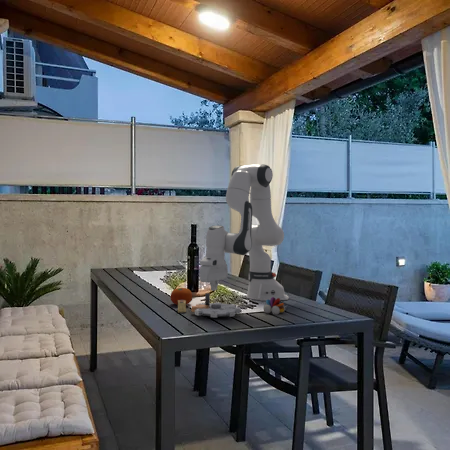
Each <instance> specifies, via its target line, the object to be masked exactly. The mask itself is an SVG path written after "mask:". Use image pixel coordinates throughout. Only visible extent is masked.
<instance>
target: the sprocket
mask: <svg viewBox="0 0 450 450" xmlns="http://www.w3.org/2000/svg"><path fill="white" fill-rule="evenodd" d="M204 296H205V298H204V299H205V301H204V302H201V303H196V304H195V305H192V306H191V312H192V313H194V315H195V316H199V317H200V316H205V317H210V318H218V317H229V318H231V317H235V316H236V314H241V307H239V306H238V307H237V304H234V303H229V304H228V303H222V302H214V303H213V302H211V303H210V301H211V299H210V297H211V293H210V292H206V293H205V295H204Z"/></svg>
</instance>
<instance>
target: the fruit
mask: <svg viewBox="0 0 450 450" xmlns="http://www.w3.org/2000/svg"><path fill="white" fill-rule="evenodd" d="M178 300H186V305H188V304H190V303H191V302H192V300H193V293H192V291H191V290H190V289H189V288H186V287H179V288H174V289H173V290H172V291H171V293H170V301H171V302H172V304H174V305H177V306H178Z"/></svg>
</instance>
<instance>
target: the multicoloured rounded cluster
mask: <svg viewBox="0 0 450 450" xmlns="http://www.w3.org/2000/svg"><path fill="white" fill-rule="evenodd" d="M280 302H281V300H280V299H279V298H277V299H275V298H274V297H272V298H271V300H266V301H265V303H266V304H265V305H264V306H263V311H264V313H265V314H273V315H275V316H277V315H279V314H280V313H284V312H285V311H286V306H285V303H284V302H282V303H280Z"/></svg>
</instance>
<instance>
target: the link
mask: <svg viewBox="0 0 450 450" xmlns="http://www.w3.org/2000/svg"><path fill="white" fill-rule="evenodd" d="M186 311H187V304H186V300H178V305H177V313H186Z"/></svg>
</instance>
